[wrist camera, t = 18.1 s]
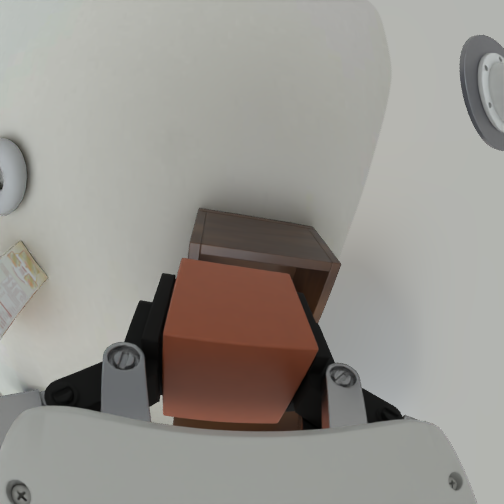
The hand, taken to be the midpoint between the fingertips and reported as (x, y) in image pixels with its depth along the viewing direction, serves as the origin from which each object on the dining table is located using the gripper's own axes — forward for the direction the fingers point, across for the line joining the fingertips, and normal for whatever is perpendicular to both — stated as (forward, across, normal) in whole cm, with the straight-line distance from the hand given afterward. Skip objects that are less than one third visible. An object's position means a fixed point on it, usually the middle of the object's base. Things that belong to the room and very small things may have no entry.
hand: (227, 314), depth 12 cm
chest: (+19, -4, +10) cm, 22 cm away
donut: (+20, +29, 0) cm, 35 cm away
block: (0, 0, 0) cm, 0 cm away
